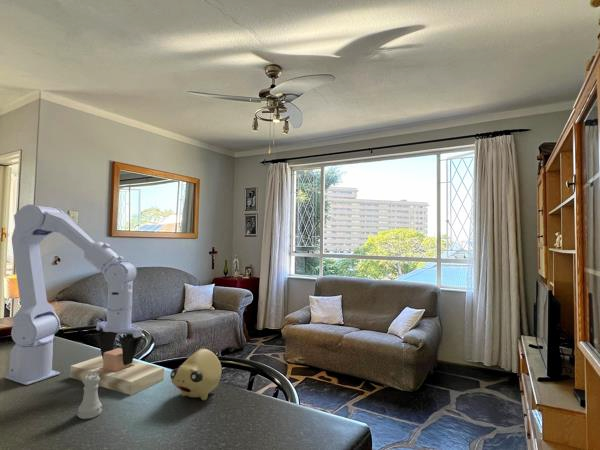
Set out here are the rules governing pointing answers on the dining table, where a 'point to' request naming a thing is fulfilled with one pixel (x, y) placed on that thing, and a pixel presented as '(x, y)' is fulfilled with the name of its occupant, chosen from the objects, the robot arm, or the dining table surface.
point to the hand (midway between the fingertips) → (117, 361)
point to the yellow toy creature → (198, 374)
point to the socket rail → (120, 375)
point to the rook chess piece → (90, 398)
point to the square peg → (114, 361)
